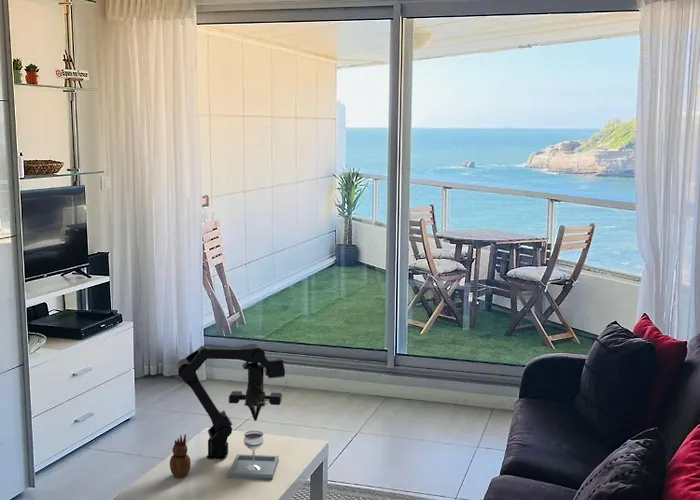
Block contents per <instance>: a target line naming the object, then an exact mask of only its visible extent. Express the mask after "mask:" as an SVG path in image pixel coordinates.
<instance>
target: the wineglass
mask: <svg viewBox="0 0 700 500" xmlns="http://www.w3.org/2000/svg"><path fill="white" fill-rule="evenodd" d="M243 436H244V438H243V444H244V446H245V447H246V448H247V449H250V450H251V451H252V455H253V464H251V465H248V466H247V467H246V468H247V469H248V470H258V469H260V468H261V466H260V465H257V464H254V456H255V455H256V454H255V451H256V450H257V449H259V448H261V446H263V444H264V437H263V436H264V433H263V432H262V431H260V430H250V431H247V432H245V433H243Z"/></svg>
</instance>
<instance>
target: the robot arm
mask: <svg viewBox="0 0 700 500" xmlns="http://www.w3.org/2000/svg"><path fill="white" fill-rule="evenodd" d="M207 360H240V361H243V362H244V363H243V364H241V366H242V368H243V369H244V370H247V389H246V392H245V394H243V391H241V390H239V391H238V390H233V391H231V393H230V394H229V395H228V403H229V404H238V403H239V402H240V401H244V407H245V406H246V407H248V408H249V410H250V413H251V416H252V418H253V420H254V421H255V422H256V421H257V420H258V418H259V414H260V412H261V409H262V407H265V406H266V404H267V402H268V403H269V404H270V405H273V406H280V405H281V404H282V401H283V394H282V393H281V392H271V393H270V395H266V393H265V391H264V383H265V381H264V379H265V378H264V376H265V377H267V378H268V379H279V378H285V374H286V370H285V365H284V359H283V358H277V359H268V358H267V356H266V353H265V351H264V349H263V348H262V346H261V345H260V344H259V343H251V344H250V343H249V344H244V345H241V346H206V345H200V347H198V348H197V349H196V350H195V351H193V352H191V353H190V354H189V355H187V356H186V357H184V358H182V359H180V360H178V362H177V363H176V368H175V369H176V371H177V373H178V377H180V379H181V380H182V381H183V382H184V383H185V384H186V385H187V386H188V387H190V389H191V390H192V392H193V393H194V395H195V396H196V398H197V399H198V401H199V403H200V404H201V406H202V407H203V409H204V410H205V412H206V413H207V415H208V417H209V418H210V420H211V423H212V426H211V427H210V428H209V429H208V430H207V434H208V436H209V438H208V440H207V456H206V459H208V460H226V457H227V456H228V454H229V442H228V438H229V437H230V435H232V432H233V428H232V426H233V423H232V420H231V418H230V417H229V416H228V415H227V414H226V411H225V410H222V411H220V410H219V409H218V408H217V406H216V404H215V403H214V401H213V399H211V397H210V395H209V393H208V392H207V390H206V389H205V387H204V386H203V384H202V382H201V381H200V378H199V377H198V374H197V371H198V370H199V369H200V368H201V367H202V365H203V364H204V363H205V362H206V361H207Z"/></svg>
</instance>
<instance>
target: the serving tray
mask: <svg viewBox="0 0 700 500" xmlns="http://www.w3.org/2000/svg"><path fill="white" fill-rule="evenodd" d="M279 459H280V458H279V455H270V454H269V455H265V454H263V455H262V454H255V456H254V464H257V465H260V466H261V468H260V469H258V470H248V469H247V468H246V467H247V466H248V465H251V464H253V454H243V453H241V454H239V453H237V454H236V456H235V458H234V460H233V462H232V463H231V467H230V469H229V471H228V473H227V474H228V477H227V478H229V479H253V480H273V479H274V476H275V472H276V470H277V467H278V464H279Z"/></svg>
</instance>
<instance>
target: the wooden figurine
mask: <svg viewBox="0 0 700 500" xmlns="http://www.w3.org/2000/svg"><path fill="white" fill-rule="evenodd" d="M172 453H173V454H172V455H171V456H170V459H169V469H170V472H171V474H172V476H173V477H175V478H179V479H182V478H186V477H187V476H188V475H189V473H190V469H191V458H190V456H189V454H188V447H187V433H184V436H183V437H182V434H180V436H179V438H177V439H175V441H174V445H173V447H172Z"/></svg>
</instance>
